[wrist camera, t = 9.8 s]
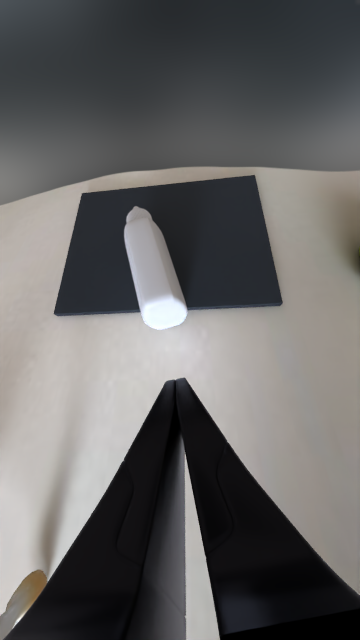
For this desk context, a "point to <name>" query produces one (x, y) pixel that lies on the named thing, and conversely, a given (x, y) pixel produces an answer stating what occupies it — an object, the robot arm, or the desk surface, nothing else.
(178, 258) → the mat
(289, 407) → the desk surface
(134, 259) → the eye dropper bottle
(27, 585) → the horse figurine
